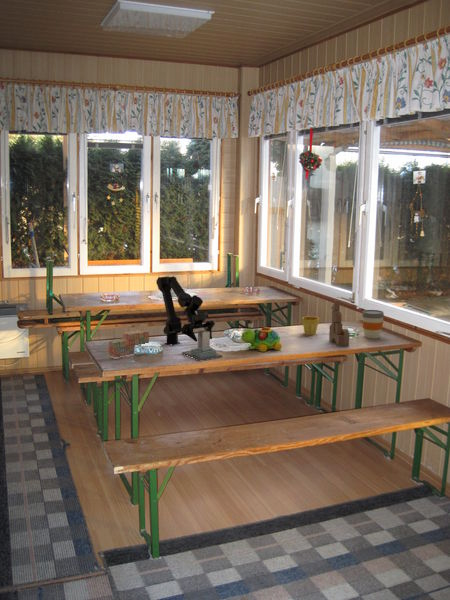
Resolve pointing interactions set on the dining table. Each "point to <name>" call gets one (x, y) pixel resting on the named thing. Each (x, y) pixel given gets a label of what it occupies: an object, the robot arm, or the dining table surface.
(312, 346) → the dining table surface
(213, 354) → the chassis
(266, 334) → the turtle toy
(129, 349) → the stack of blocks
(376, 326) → the reusable coffee cup
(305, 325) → the plant pot
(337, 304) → the wooden toy
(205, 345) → the light grey rectangular block
